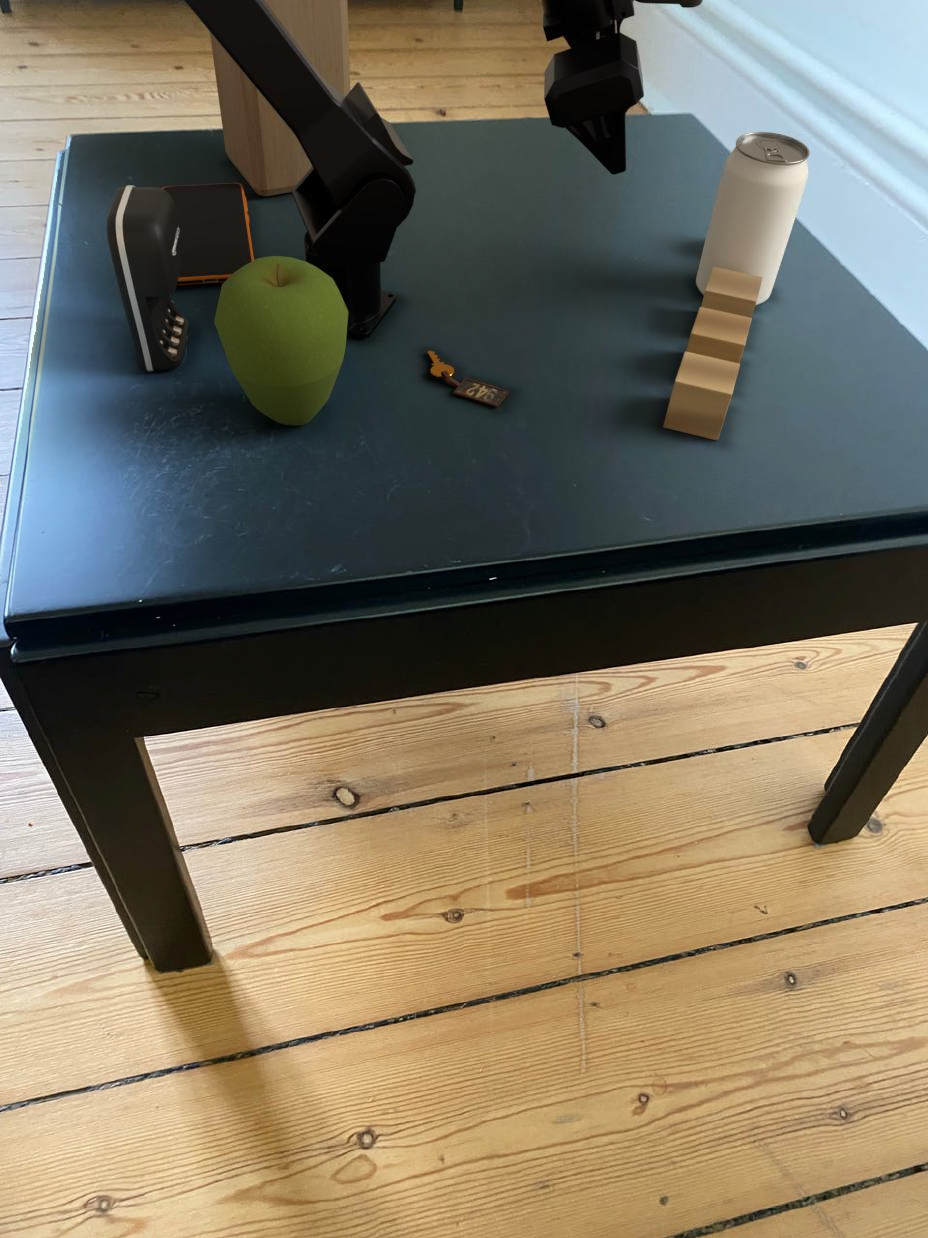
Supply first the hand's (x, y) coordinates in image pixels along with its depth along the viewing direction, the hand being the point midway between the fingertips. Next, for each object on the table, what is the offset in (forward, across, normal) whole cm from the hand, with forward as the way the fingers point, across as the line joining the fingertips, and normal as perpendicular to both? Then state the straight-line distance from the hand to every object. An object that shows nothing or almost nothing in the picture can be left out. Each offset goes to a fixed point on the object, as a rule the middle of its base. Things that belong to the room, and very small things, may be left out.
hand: (617, 135), depth 73 cm
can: (+16, -2, -6) cm, 17 cm away
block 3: (+11, -20, -3) cm, 23 cm away
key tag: (+5, -18, +13) cm, 22 cm away
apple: (-1, -23, +24) cm, 33 cm away
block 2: (+12, -14, -4) cm, 19 cm away
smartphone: (-2, +1, +36) cm, 36 cm away
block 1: (+14, -8, -5) cm, 17 cm away
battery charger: (-4, -16, +34) cm, 38 cm away
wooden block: (+2, +15, +32) cm, 36 cm away
